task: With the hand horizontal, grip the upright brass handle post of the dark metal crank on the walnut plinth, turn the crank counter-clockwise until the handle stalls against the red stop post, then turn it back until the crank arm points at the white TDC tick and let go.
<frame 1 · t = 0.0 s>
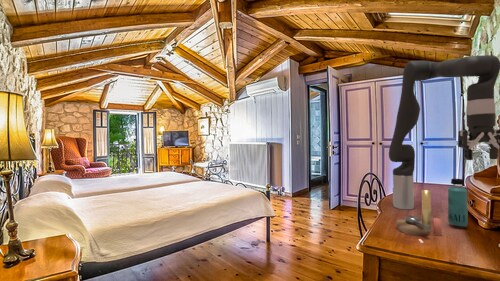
hand: (481, 159, 89), 29 cm above the table, tool pointing down, fingers open, 8 cm apart
crank: (418, 206, 98), point 11 cm above the table, hinge at 0.0°
stop post: (437, 234, 97), on the table
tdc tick: (421, 241, 92), on the table
beverage bottle: (458, 227, 104), on the table
crank plinth: (412, 230, 102), on the table
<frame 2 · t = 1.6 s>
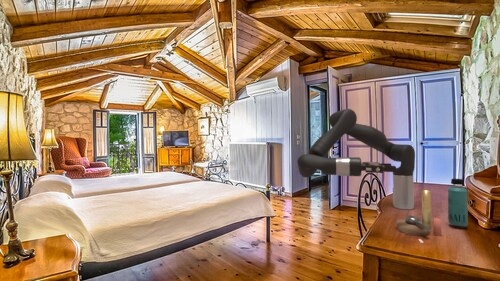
hand: (393, 167, 97), 26 cm above the table, tool horizontal, fingers open, 8 cm apart
nothing on the table moved.
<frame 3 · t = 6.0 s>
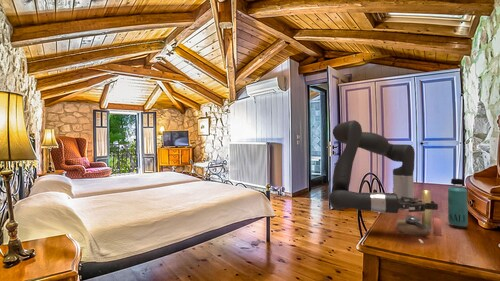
hand: (435, 205, 93), 12 cm above the table, tool horizontal, fingers closed on crank, 3 cm apart
crank: (418, 206, 98), point 11 cm above the table, hinge at 0.0°, touching gripper
everything else where it was.
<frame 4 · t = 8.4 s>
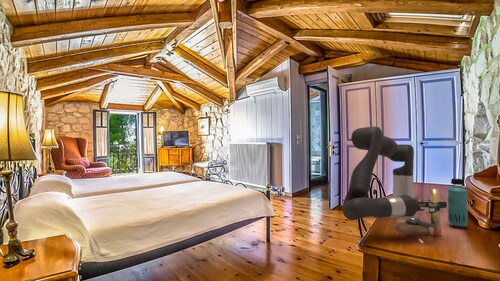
hand: (441, 203, 95), 13 cm above the table, tool horizontal, fingers closed on crank, 3 cm apart
crank: (421, 206, 99), point 11 cm above the table, hinge at 29.4°, touching gripper
everything else where it was.
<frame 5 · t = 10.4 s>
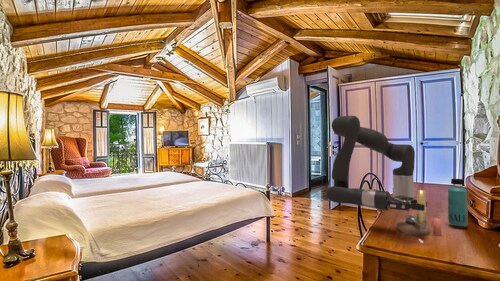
hand: (425, 205, 93), 12 cm above the table, tool horizontal, fingers open, 5 cm apart
crank: (416, 206, 99), point 11 cm above the table, hinge at -12.3°
everything else where it was.
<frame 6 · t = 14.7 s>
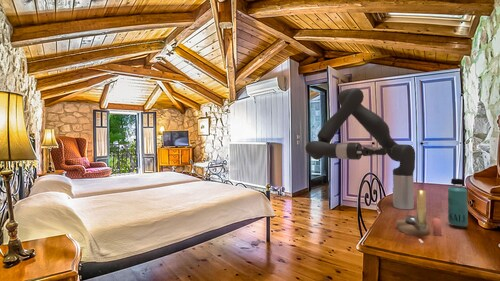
hand: (389, 151, 102), 32 cm above the table, tool horizontal, fingers open, 8 cm apart
nothing on the table moved.
at the end: crank at -12° (first picture: +0°); the gripper is holding nothing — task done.
